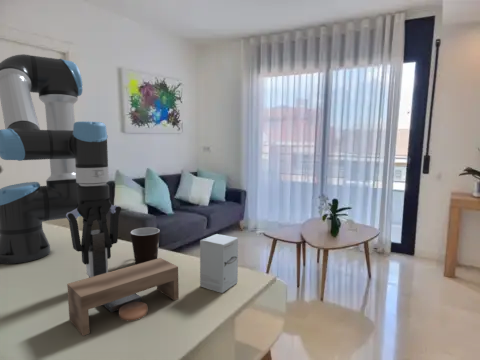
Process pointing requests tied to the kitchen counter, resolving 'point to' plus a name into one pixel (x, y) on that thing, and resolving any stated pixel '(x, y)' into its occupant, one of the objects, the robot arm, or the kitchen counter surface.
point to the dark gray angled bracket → (100, 268)
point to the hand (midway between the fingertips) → (97, 273)
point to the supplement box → (218, 262)
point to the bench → (119, 288)
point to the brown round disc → (133, 311)
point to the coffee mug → (145, 244)
